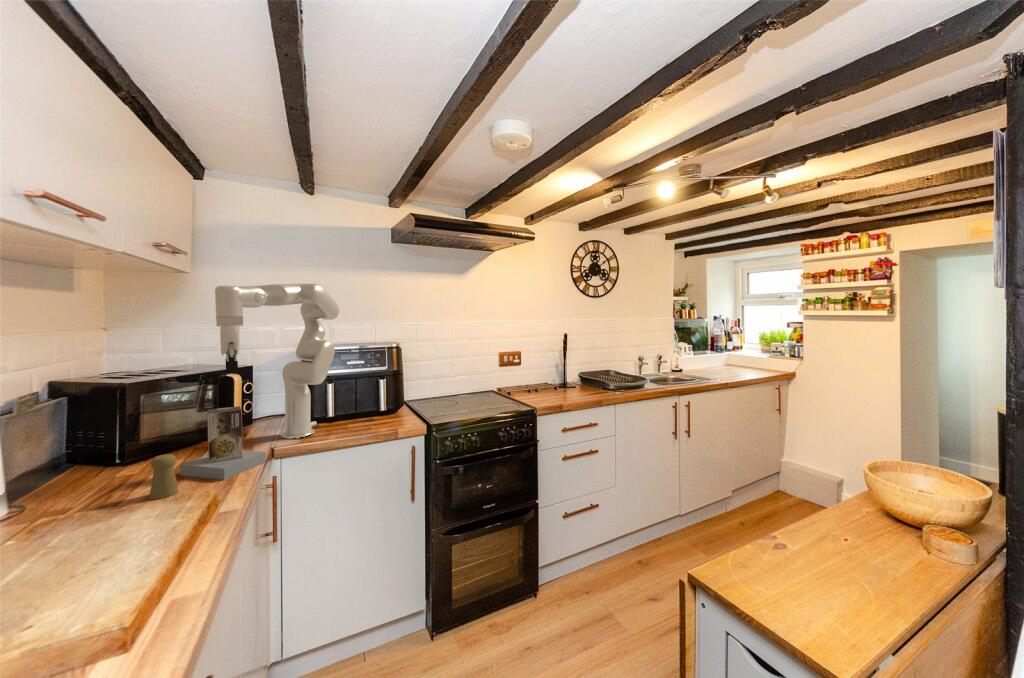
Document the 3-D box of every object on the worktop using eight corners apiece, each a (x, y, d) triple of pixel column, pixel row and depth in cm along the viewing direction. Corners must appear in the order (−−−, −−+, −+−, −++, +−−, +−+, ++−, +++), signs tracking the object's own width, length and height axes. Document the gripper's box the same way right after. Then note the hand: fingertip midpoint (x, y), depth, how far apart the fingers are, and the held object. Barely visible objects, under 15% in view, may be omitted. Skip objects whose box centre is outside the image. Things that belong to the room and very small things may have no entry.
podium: (225, 458, 138) (225, 448, 138) (265, 462, 135) (265, 452, 135) (180, 475, 122) (180, 464, 122) (224, 480, 119) (224, 468, 119)
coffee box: (241, 452, 134) (241, 405, 133) (242, 457, 129) (242, 409, 128) (207, 457, 128) (207, 408, 128) (208, 463, 123) (207, 412, 123)
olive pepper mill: (168, 498, 106) (168, 459, 106) (143, 500, 105) (142, 459, 105) (183, 489, 112) (183, 451, 112) (159, 490, 111) (159, 452, 111)
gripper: (216, 321, 139) (218, 368, 140) (216, 322, 125) (218, 375, 127) (241, 321, 144) (243, 367, 145) (244, 322, 130) (246, 373, 131)
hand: (231, 371), depth 136 cm, fingers open, 9 cm apart
